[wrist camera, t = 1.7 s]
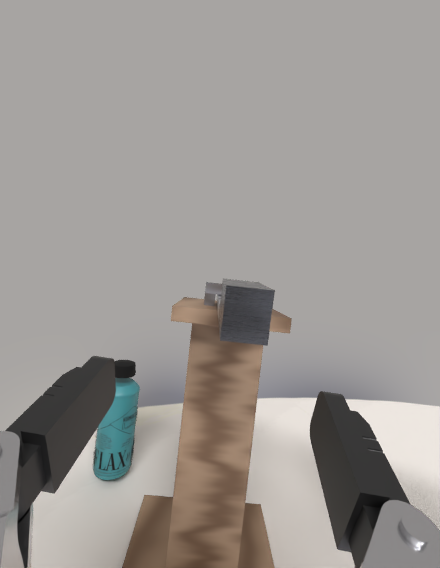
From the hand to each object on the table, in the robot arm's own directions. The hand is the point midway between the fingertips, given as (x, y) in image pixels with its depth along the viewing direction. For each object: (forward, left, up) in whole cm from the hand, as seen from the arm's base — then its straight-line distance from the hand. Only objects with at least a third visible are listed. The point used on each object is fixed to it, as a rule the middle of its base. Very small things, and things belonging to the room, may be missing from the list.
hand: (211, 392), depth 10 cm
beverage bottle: (+14, -36, -32) cm, 50 cm away
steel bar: (-2, -16, +1) cm, 16 cm away
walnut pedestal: (-2, -22, -32) cm, 39 cm away
